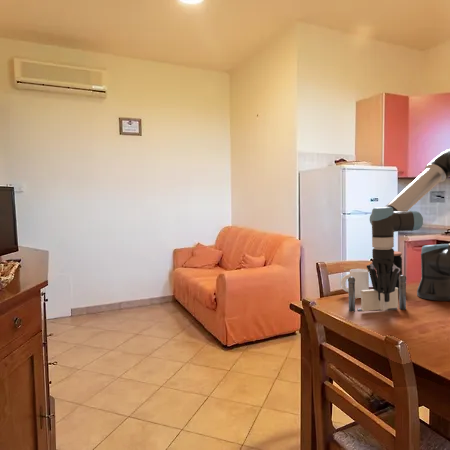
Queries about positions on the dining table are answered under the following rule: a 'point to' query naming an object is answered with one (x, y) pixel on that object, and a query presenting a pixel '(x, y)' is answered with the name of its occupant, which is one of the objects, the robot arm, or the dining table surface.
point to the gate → (377, 300)
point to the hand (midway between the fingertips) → (384, 309)
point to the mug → (357, 281)
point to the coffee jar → (397, 263)
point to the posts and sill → (401, 306)
